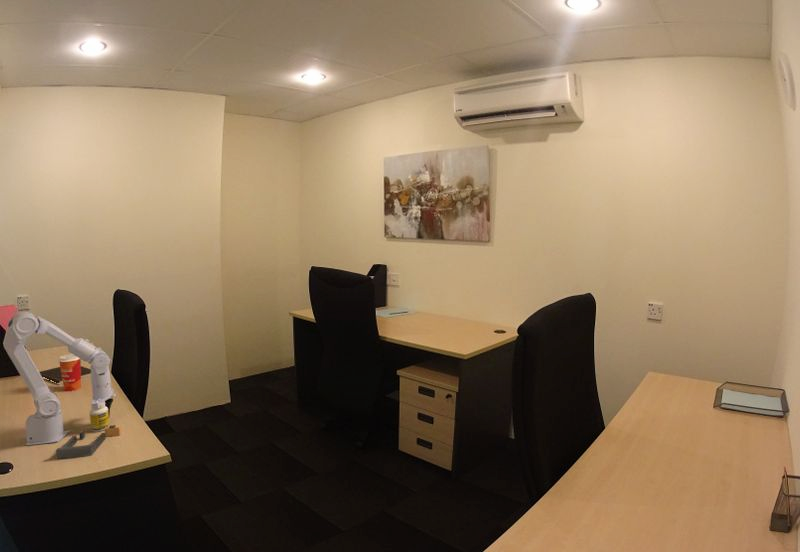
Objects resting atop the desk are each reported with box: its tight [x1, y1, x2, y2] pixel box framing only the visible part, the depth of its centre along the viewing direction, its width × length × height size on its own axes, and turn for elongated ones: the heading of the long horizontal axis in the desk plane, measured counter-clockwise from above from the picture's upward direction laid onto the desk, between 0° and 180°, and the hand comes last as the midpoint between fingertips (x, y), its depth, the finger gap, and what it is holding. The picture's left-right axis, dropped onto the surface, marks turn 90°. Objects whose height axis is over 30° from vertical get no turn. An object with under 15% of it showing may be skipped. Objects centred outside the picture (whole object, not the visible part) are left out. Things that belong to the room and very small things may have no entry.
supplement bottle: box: [89, 401, 110, 433], centre depth 158 cm, size 5×5×10 cm
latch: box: [104, 424, 122, 437], centre depth 154 cm, size 4×1×3 cm, turn 104°
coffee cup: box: [57, 353, 82, 392], centre depth 197 cm, size 8×8×15 cm
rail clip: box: [55, 430, 106, 460], centre depth 146 cm, size 10×14×3 cm, turn 14°
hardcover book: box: [39, 365, 91, 383], centre depth 215 cm, size 16×23×2 cm
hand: (105, 419), depth 163 cm, fingers closed
